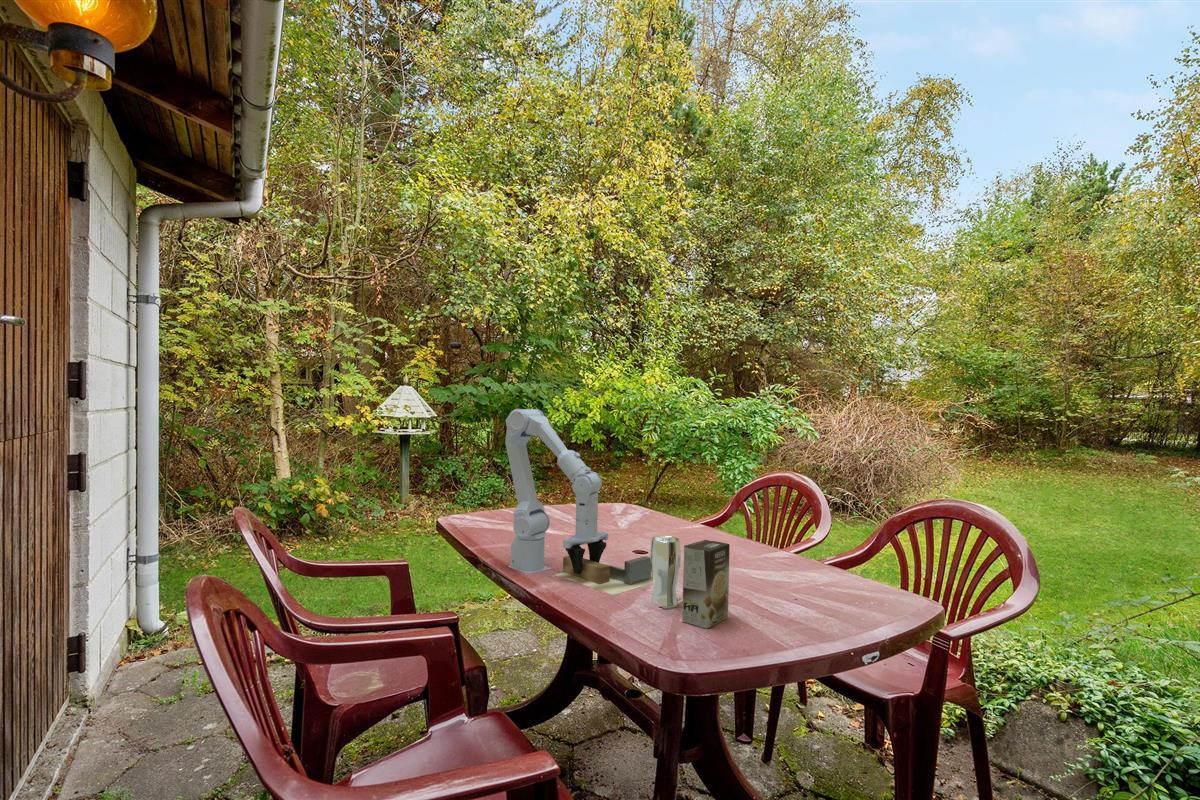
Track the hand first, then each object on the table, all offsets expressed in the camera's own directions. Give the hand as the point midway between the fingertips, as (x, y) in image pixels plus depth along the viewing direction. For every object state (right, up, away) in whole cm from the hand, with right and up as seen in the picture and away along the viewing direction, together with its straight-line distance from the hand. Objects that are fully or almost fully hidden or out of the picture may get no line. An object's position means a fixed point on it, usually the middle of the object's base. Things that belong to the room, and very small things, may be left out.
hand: (585, 571), depth 152 cm
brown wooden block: (0, -1, 0) cm, 1 cm away
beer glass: (+19, -2, -18) cm, 26 cm away
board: (+6, -2, 0) cm, 6 cm away
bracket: (+11, -2, 0) cm, 11 cm away
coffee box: (+26, -3, -27) cm, 38 cm away
